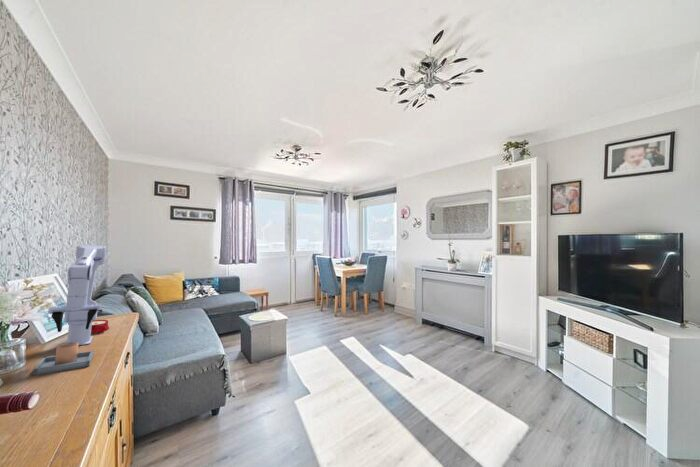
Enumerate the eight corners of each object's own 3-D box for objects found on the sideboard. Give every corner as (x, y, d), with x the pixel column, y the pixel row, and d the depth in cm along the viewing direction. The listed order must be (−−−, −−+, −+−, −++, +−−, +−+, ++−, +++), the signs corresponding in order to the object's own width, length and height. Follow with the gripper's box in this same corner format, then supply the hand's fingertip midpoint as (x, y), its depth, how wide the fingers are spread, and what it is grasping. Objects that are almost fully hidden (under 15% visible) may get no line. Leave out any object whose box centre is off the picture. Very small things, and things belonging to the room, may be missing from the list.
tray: (42, 362, 98) (43, 357, 98) (93, 355, 106) (93, 350, 106) (33, 375, 89) (33, 369, 89) (89, 366, 98) (89, 360, 98)
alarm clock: (111, 318, 141) (106, 319, 129) (110, 331, 139) (104, 333, 127) (84, 320, 135) (77, 322, 123) (82, 333, 134) (74, 336, 122)
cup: (56, 361, 98) (58, 343, 98) (78, 358, 102) (80, 341, 102) (52, 367, 94) (54, 349, 94) (75, 364, 97) (77, 346, 98)
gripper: (47, 298, 98) (43, 335, 97) (101, 296, 106) (97, 330, 106) (52, 294, 103) (48, 330, 103) (103, 292, 112) (99, 325, 111)
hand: (73, 329), depth 105 cm, fingers open, 7 cm apart
